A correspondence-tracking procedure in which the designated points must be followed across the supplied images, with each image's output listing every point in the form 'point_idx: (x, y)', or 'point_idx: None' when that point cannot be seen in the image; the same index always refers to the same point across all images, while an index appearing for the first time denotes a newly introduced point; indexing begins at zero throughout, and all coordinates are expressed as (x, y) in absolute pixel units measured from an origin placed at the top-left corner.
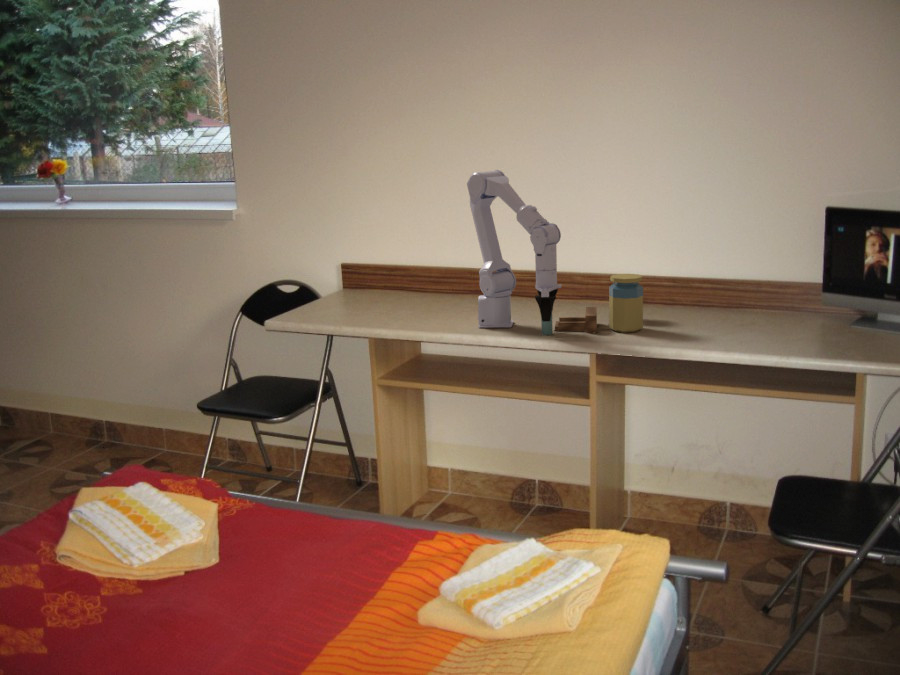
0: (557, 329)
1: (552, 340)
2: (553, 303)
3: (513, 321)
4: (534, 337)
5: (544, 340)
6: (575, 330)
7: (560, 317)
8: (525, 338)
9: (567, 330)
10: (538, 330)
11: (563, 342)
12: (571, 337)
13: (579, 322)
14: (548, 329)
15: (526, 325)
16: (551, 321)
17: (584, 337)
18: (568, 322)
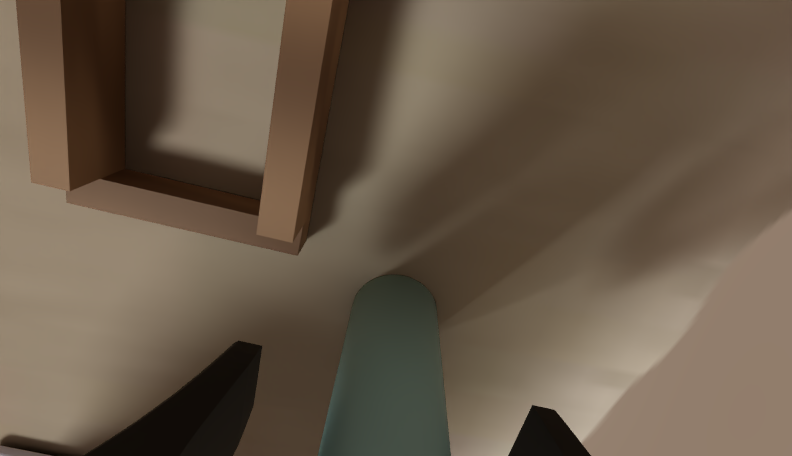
0: (307, 225)
1: (616, 315)
2: (182, 435)
3: (12, 452)
4: (478, 402)
5: (591, 362)
6: (337, 62)
7: (49, 175)
8: (487, 450)
9: (322, 138)
10: (267, 344)
11: (719, 254)
12: (579, 156)
13: (330, 12)
14: (438, 336)
15: (97, 387)
16: (428, 354)
17: (629, 34)
18: (307, 143)
